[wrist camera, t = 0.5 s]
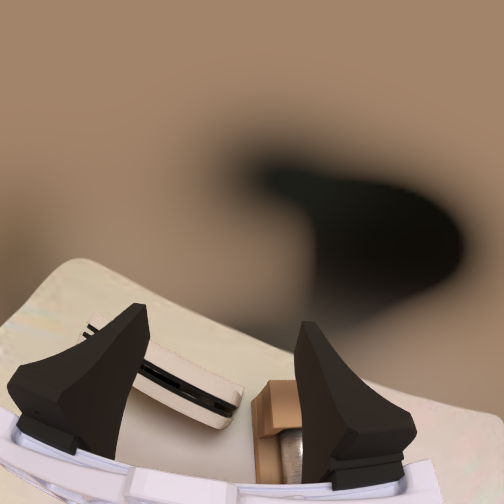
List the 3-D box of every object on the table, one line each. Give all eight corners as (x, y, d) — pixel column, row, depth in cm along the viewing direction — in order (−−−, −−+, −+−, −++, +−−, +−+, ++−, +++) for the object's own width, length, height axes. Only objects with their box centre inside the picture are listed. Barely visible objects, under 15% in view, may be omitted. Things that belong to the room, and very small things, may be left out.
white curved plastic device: (246, 389, 30) (259, 384, 21) (228, 426, 28) (233, 438, 19) (116, 320, 32) (83, 288, 23) (97, 354, 30) (56, 333, 21)
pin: (319, 503, 21) (342, 501, 18) (274, 509, 20) (292, 511, 17) (307, 411, 28) (326, 396, 25) (265, 412, 27) (280, 398, 24)
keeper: (323, 490, 23) (357, 485, 18) (257, 499, 21) (280, 499, 17) (311, 401, 30) (338, 379, 26) (251, 402, 29) (269, 380, 25)
